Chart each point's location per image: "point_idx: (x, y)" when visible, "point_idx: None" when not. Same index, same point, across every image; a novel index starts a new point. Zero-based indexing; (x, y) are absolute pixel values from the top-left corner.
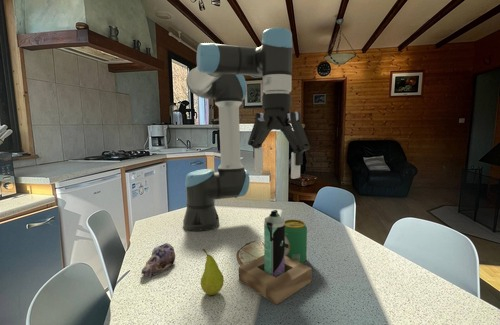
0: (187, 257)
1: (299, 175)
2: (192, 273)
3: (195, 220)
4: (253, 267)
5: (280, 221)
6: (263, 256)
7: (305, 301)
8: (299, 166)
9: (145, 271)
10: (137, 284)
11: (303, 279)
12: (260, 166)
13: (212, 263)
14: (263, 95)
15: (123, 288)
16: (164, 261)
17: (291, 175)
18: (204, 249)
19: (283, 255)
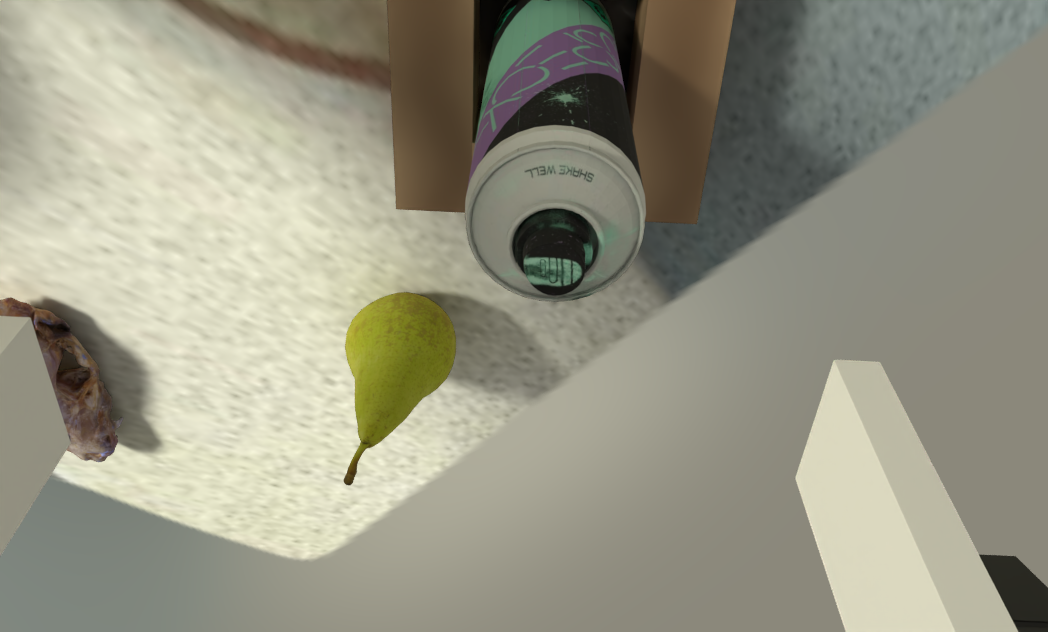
0: (4, 217)
1: (884, 394)
2: (196, 285)
3: None
4: (463, 158)
5: (632, 240)
6: (402, 12)
7: (788, 68)
8: (936, 507)
9: (108, 455)
10: (147, 461)
11: None
12: (11, 415)
13: (403, 417)
14: None
15: (146, 498)
16: (56, 373)
17: (814, 510)
18: (350, 478)
19: (625, 94)
